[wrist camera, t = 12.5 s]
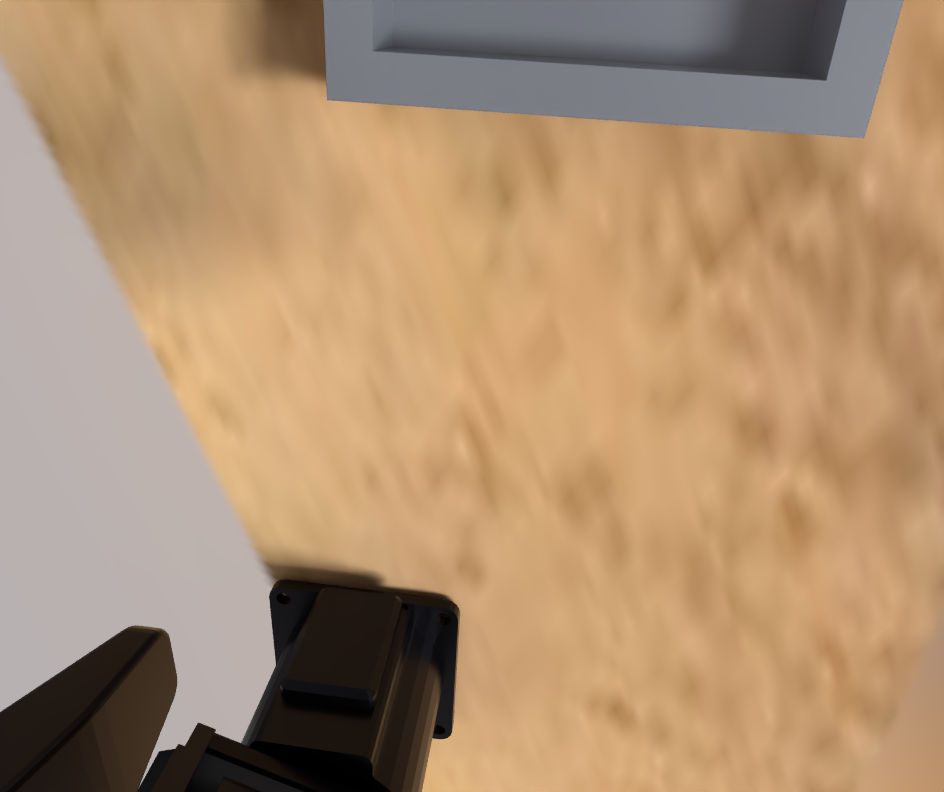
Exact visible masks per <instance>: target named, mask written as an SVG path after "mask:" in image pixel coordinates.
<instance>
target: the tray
mask: <svg viewBox="0 0 944 792" xmlns="http://www.w3.org/2000/svg"><path fill="white" fill-rule="evenodd" d="M903 1H904V0H323V5H324V32H325V59H326V86H327V100H333V101H347V102H361V103H375V104H389V105H403V106H417V107H432V108H446V109H460V110H474V111H488V112H502V113H516V114H530V115H544V116H559V117H573V118H587V119H601V120H615V121H629V122H643V123H657V124H671V125H686V126H700V127H714V128H728V129H742V130H756V131H770V132H784V133H798V134H813V135H827V136H841V137H855V138H864V137H865V134H866V130H867V127H868V123H869V120H870V116H871V113H872V109H873V106H874V102H875V99H876V95H877V92H878V88H879V85H880V81H881V78H882V74H883V71H884V67H885V64H886V60H887V57H888V53H889V50H890V46H891V43H892V39H893V36H894V32H895V29H896V25H897V22H898V18H899V15H900V11H901V8H902V4H903Z"/></svg>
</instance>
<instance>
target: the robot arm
mask: <svg viewBox="0 0 944 792" xmlns="http://www.w3.org/2000/svg"><path fill="white" fill-rule="evenodd" d="M282 593H284V594H287V595H288V596H285V595H283V594H282ZM269 599H270V609H271V618H272V629H273V637H274V638H273V639H274V649H275V658H276V667H275V669H274V671H273V674H272V676H271V678H270V680H269V682H268V685H267V687H266V689H265V691H264V694H263V696H262V698H261V700H260V702H259V705H258V707H257V709H256V711H255V714H254V716H253V718H252V720H251V723H250V725H249V727H248V729H247V731H246V734H245V736H244V738H243V741H242V742H241V743H239V742H236V741H234V740H231V739H229V738H226V737H224V736H221V735H219V734H216V733H215V731H216V730H215V729H213V728H211V727H208V726H206V725H203V724H201V723H198V724H197V726H196V727H195V729H194V731H193V733H192V735H191V736H190V738H189V740H188V742H187V743H186V745H185V746H183V745H180V744H178V746H177V747H176V749H172V750H165V751H160V752H159V753H158V755H157V757H156V758H155V760H154V762H153V764H152V766H151V767H150V769H149V771H148V773H147V774H146V776H145V778H144V780H143V782H142V783H141V780H142V778H143V775H144V773H145V770H146V768H147V765H148V762H149V760H150V758H151V755H152V752H153V750H154V747H155V745H156V742H157V740H158V737H159V735H160V732H161V730H162V727H163V725H164V722H165V720H166V717H167V714H168V712H169V710H170V707H171V704H172V702H173V699H174V696H175V692H176V687H177V674H176V669H175V663H174V658H173V653H172V648H171V642H170V638H169V635H168V633H167V632H166V631H165V630H163V629H159V628H152V627H144V626H131V627H128V628H126V629H124V630H123V631H121V632H120V633H118V634H117V635H115V636H114V637H112V638H111V639H109V640H108V641H106V642H105V643H103V644H102V645H100V646H99V647H98V648H96V649H94V650H93V651H91V652H90V653H88V654H87V655H85V656H84V657H82V658H81V659H79V660H78V661H76V662H75V663H73V664H72V665H70V666H69V667H67V668H66V669H64V670H63V671H61V672H60V673H58V674H57V675H55V676H54V677H52V678H51V679H49V680H48V681H46V682H45V683H43V684H42V685H40V686H39V687H37V688H36V689H34V690H33V691H31V692H30V693H28V694H27V695H25V696H24V697H22V698H21V699H19V700H18V701H16V702H15V703H13V704H12V705H11V706H9V707H7V708H6V709H4V710H3V711H1V712H0V792H422V788H423V783H424V777H425V772H426V767H427V762H428V757H429V752H430V747H431V741H432V738H434V739H445V738H448V737H449V736H450V735H451V733H452V729H453V722H454V705H455V688H456V671H457V654H458V637H459V620H460V610H459V608H458V606H457V605H456V604H455V603H453V602H452V601H449V600H444V599H436V598H428V597H420V596H412V595H404V594H396V593H389V592H381V591H373V590H365V589H357V588H349V587H341V586H333V585H325V584H317V583H309V582H301V581H293V580H280V581H277V582H276V583H275V584H274V586H273V588H272V590H271V592H270V596H269ZM440 614H446V615H448V616H446V617H445V616H442V615H440ZM140 783H141V785H140ZM139 785H140V787H139ZM138 788H139V789H138ZM137 790H138V791H137Z"/></svg>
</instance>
